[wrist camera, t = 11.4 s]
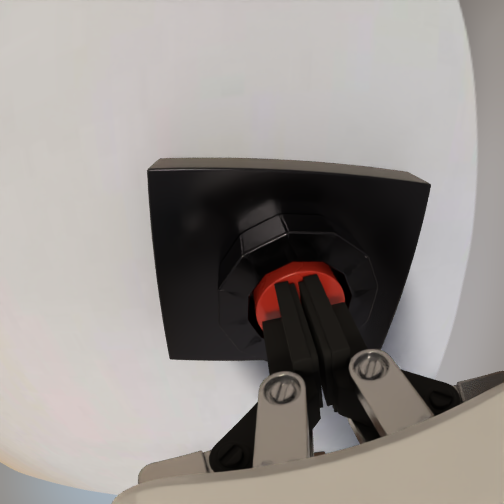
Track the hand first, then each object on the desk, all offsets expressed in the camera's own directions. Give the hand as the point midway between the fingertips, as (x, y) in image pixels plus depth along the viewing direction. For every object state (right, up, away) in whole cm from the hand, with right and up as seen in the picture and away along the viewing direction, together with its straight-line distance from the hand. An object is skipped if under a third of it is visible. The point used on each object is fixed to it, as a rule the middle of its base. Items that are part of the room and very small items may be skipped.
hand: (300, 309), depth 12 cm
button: (0, +1, +2) cm, 2 cm away
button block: (0, +2, +4) cm, 4 cm away
